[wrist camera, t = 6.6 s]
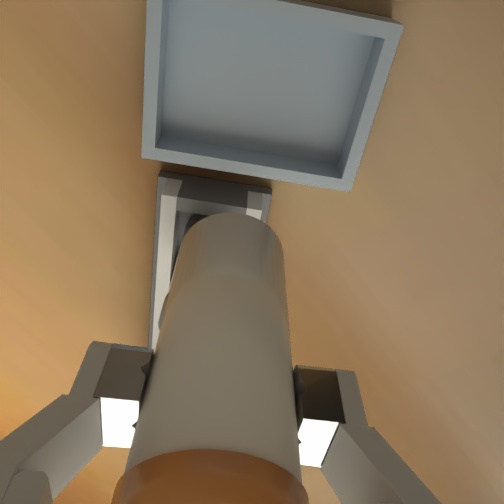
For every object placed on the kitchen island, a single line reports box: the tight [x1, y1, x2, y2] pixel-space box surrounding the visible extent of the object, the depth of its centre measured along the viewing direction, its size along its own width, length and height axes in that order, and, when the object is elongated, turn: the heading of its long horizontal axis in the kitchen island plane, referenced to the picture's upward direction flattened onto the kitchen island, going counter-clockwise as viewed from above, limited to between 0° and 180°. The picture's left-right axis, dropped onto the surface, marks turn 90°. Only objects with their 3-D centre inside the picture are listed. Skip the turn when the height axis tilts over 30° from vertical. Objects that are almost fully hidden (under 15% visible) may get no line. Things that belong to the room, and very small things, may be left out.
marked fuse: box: [111, 212, 309, 504], centre depth 12 cm, size 4×4×10 cm
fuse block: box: [148, 171, 272, 352], centre depth 37 cm, size 8×22×4 cm, turn 170°
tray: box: [141, 0, 404, 192], centre depth 28 cm, size 14×10×3 cm
